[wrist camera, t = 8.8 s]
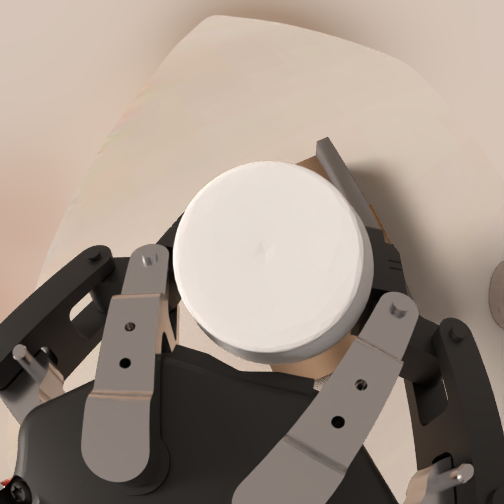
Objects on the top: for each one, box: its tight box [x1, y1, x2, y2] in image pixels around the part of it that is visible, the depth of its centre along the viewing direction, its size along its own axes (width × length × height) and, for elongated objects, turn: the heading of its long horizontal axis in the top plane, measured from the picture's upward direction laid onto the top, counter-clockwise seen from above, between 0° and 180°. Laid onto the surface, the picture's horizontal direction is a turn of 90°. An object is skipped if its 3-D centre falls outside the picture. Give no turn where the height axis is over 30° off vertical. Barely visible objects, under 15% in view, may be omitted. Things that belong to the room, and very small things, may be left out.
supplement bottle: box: [173, 161, 374, 365], centre depth 11 cm, size 6×6×10 cm
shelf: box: [270, 137, 413, 380], centre depth 27 cm, size 14×20×7 cm
